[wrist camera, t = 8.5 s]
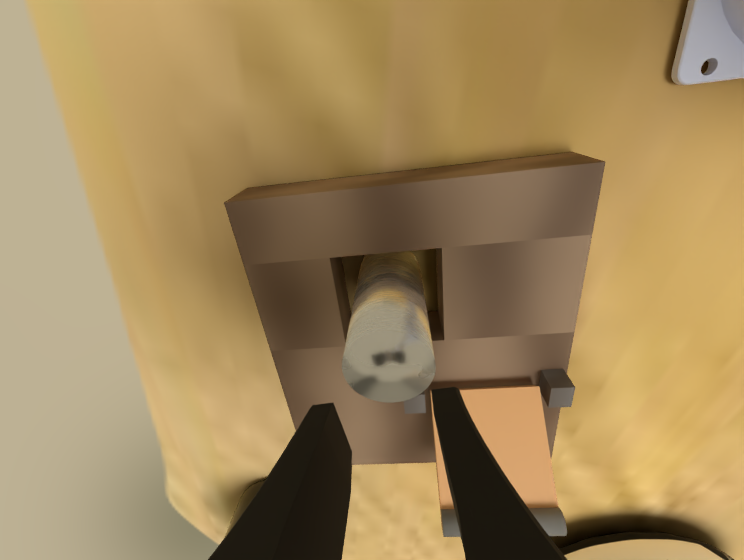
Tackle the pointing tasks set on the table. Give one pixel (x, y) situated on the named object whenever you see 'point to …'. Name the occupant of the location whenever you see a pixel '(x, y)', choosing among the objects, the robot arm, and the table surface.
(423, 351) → the steel pin
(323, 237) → the brown board with hole
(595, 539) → the milk container
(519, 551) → the robot arm
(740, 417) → the table surface
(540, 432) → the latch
